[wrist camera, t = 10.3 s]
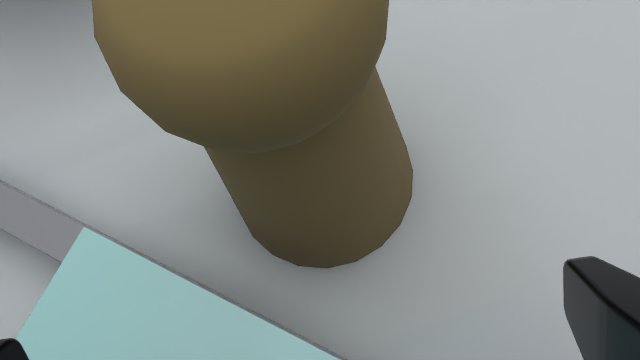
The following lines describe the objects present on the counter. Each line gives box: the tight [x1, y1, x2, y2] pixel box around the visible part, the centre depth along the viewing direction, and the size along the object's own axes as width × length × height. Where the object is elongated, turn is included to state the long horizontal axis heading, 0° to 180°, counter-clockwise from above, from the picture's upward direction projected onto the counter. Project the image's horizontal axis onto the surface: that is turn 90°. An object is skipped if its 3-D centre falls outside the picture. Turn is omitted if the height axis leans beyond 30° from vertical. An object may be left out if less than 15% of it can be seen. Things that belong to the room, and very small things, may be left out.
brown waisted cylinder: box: [92, 0, 413, 268], centre depth 13 cm, size 6×6×11 cm
